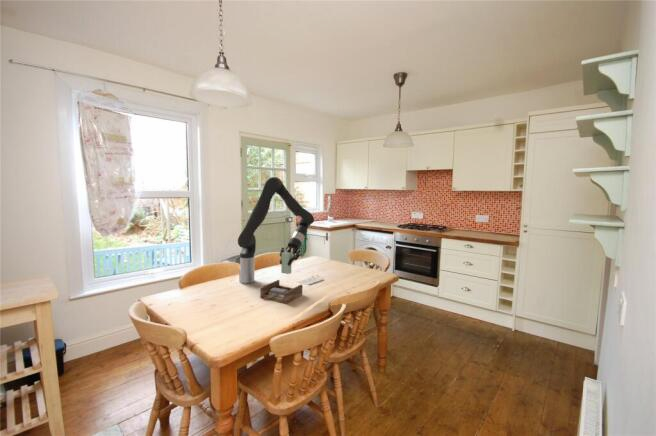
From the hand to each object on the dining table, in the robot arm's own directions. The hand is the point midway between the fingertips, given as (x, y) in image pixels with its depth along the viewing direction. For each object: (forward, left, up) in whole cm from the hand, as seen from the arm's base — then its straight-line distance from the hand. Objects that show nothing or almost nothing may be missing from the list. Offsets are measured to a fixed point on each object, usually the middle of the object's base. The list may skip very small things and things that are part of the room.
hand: (284, 264), depth 165 cm
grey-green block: (0, +2, -6) cm, 6 cm away
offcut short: (0, -5, -16) cm, 17 cm away
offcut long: (0, -5, -18) cm, 19 cm away
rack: (0, -3, -20) cm, 20 cm away
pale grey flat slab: (-4, +25, -20) cm, 32 cm away
